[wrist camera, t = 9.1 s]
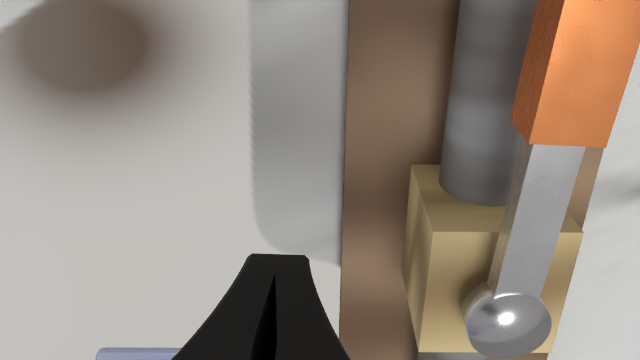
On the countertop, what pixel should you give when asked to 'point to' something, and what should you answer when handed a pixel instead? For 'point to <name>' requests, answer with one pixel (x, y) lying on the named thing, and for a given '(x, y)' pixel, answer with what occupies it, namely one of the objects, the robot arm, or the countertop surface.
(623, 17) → the valve lever
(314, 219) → the countertop surface
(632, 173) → the countertop surface
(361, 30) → the valve board
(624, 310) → the countertop surface
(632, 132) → the countertop surface
